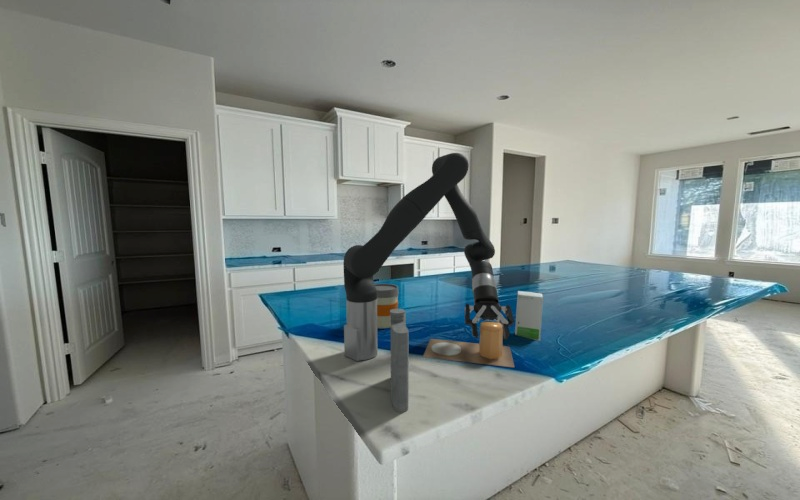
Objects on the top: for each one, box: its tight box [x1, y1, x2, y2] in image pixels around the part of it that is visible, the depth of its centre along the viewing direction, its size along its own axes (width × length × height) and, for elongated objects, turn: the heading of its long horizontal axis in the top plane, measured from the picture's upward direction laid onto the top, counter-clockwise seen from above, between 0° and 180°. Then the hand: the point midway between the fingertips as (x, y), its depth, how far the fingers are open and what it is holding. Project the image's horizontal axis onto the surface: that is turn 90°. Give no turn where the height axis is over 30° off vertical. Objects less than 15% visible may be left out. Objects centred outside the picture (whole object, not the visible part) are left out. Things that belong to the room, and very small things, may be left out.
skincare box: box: [514, 290, 544, 342], centre depth 106 cm, size 8×7×16 cm
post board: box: [422, 338, 515, 368], centre depth 91 cm, size 25×14×6 cm, turn 75°
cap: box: [478, 320, 504, 359], centre depth 89 cm, size 6×6×9 cm
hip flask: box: [390, 308, 410, 413], centre depth 72 cm, size 16×4×20 cm, turn 2°
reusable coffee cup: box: [374, 283, 400, 329], centre depth 119 cm, size 13×13×15 cm
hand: (491, 337), depth 89 cm, fingers open, 8 cm apart
